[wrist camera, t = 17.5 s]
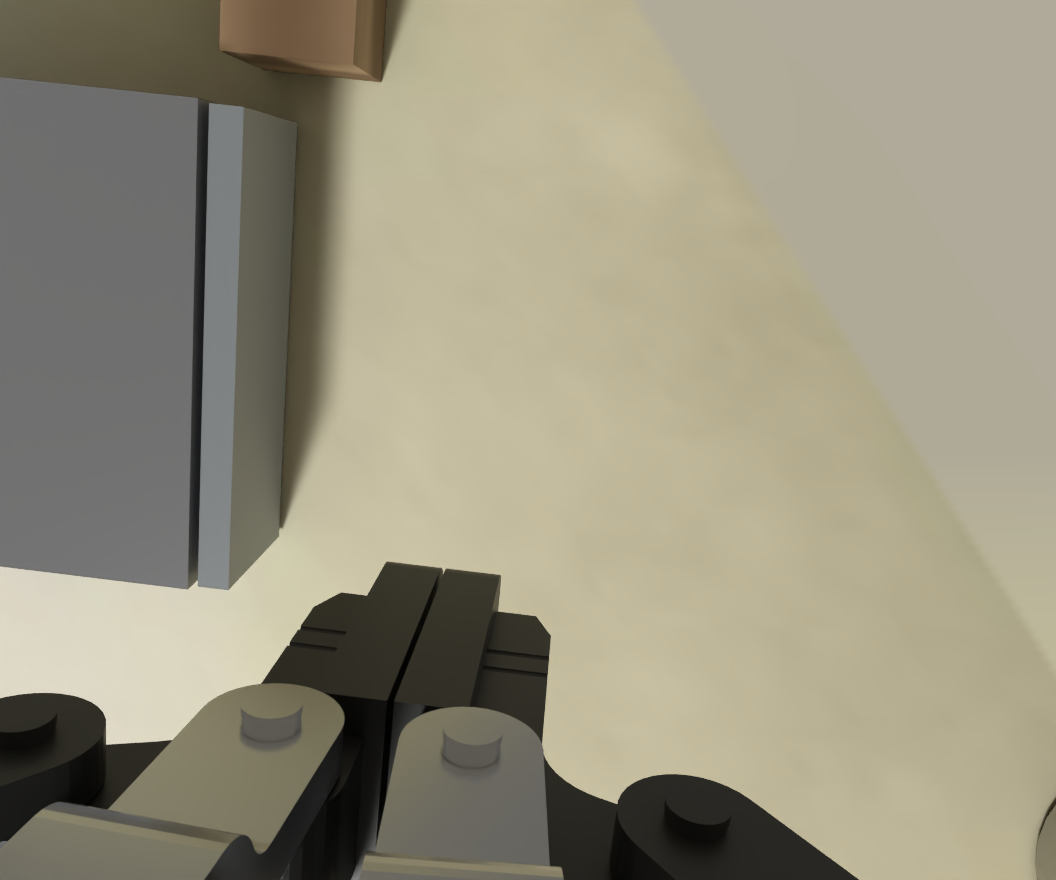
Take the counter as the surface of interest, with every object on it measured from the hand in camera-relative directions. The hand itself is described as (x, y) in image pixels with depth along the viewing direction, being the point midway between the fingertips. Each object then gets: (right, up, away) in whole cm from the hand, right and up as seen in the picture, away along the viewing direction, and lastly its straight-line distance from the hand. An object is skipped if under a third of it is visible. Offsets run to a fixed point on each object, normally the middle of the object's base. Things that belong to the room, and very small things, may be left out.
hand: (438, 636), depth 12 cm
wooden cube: (-5, +17, +19) cm, 26 cm away
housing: (-16, +7, +22) cm, 28 cm away
